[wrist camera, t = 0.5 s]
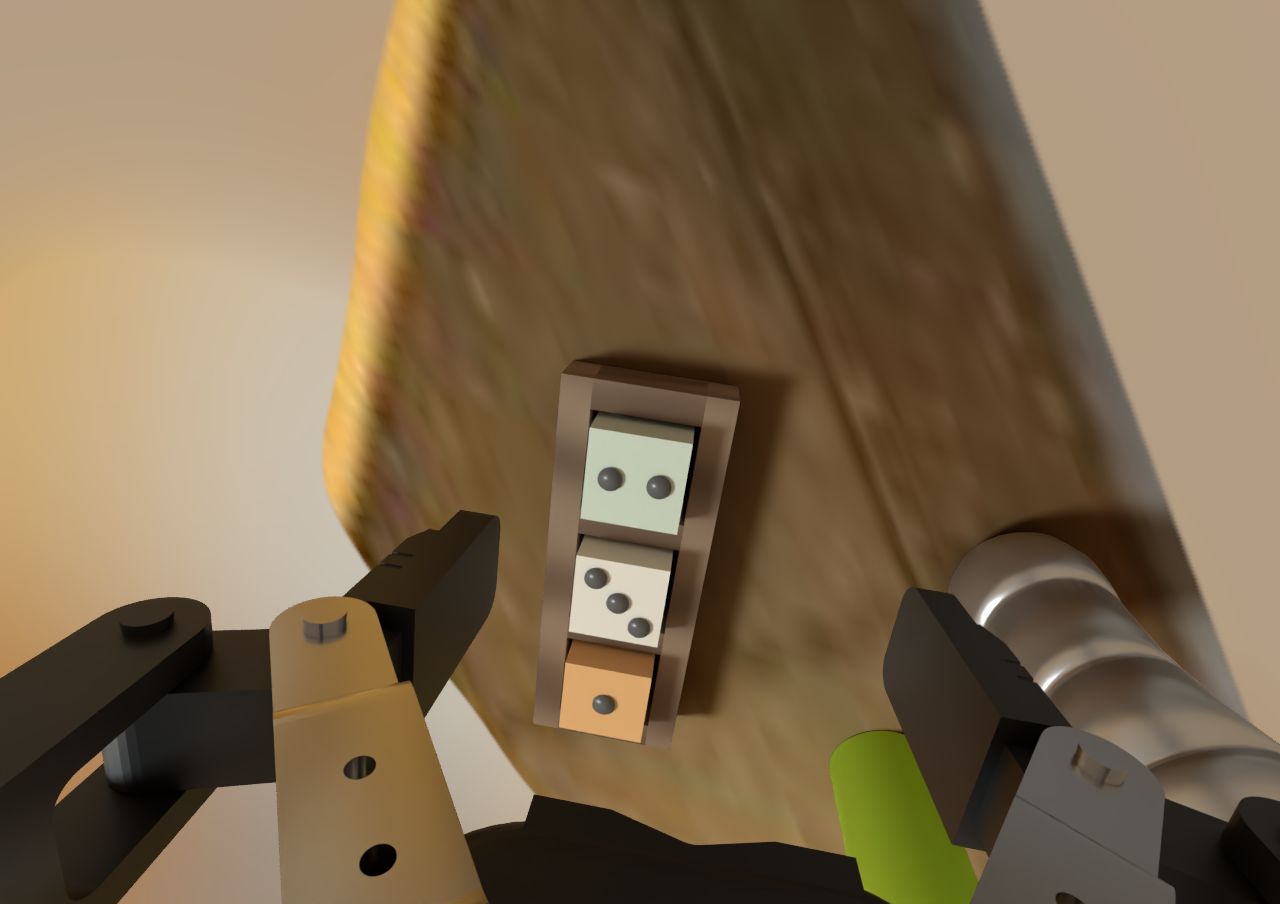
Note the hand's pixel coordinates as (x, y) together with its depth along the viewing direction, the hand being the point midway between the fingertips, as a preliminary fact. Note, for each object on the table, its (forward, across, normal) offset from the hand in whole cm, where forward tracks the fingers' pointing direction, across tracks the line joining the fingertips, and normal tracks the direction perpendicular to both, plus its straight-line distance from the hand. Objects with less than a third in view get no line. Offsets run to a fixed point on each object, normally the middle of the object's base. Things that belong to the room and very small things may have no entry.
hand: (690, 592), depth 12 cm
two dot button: (+18, +2, +3) cm, 19 cm away
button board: (+19, +2, +9) cm, 21 cm away
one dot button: (+20, +2, +16) cm, 25 cm away
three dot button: (+19, +2, +9) cm, 21 cm away
